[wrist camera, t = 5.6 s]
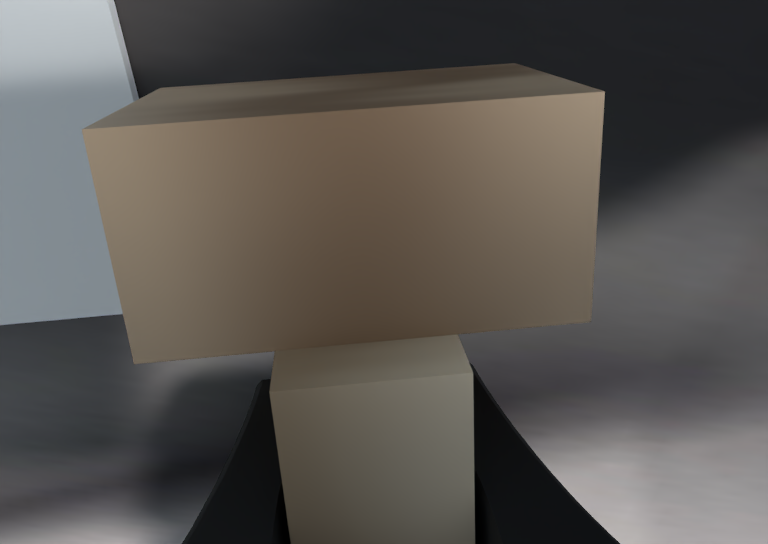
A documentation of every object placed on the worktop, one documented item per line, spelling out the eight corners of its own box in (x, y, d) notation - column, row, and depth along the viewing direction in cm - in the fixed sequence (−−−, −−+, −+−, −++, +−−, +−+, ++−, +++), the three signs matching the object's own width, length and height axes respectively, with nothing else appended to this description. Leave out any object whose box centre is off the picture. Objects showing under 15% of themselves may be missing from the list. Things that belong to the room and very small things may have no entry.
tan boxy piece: (514, 63, 12) (641, 103, 7) (507, 635, 17) (579, 878, 12) (160, 88, 11) (48, 146, 7) (262, 664, 16) (238, 926, 12)
